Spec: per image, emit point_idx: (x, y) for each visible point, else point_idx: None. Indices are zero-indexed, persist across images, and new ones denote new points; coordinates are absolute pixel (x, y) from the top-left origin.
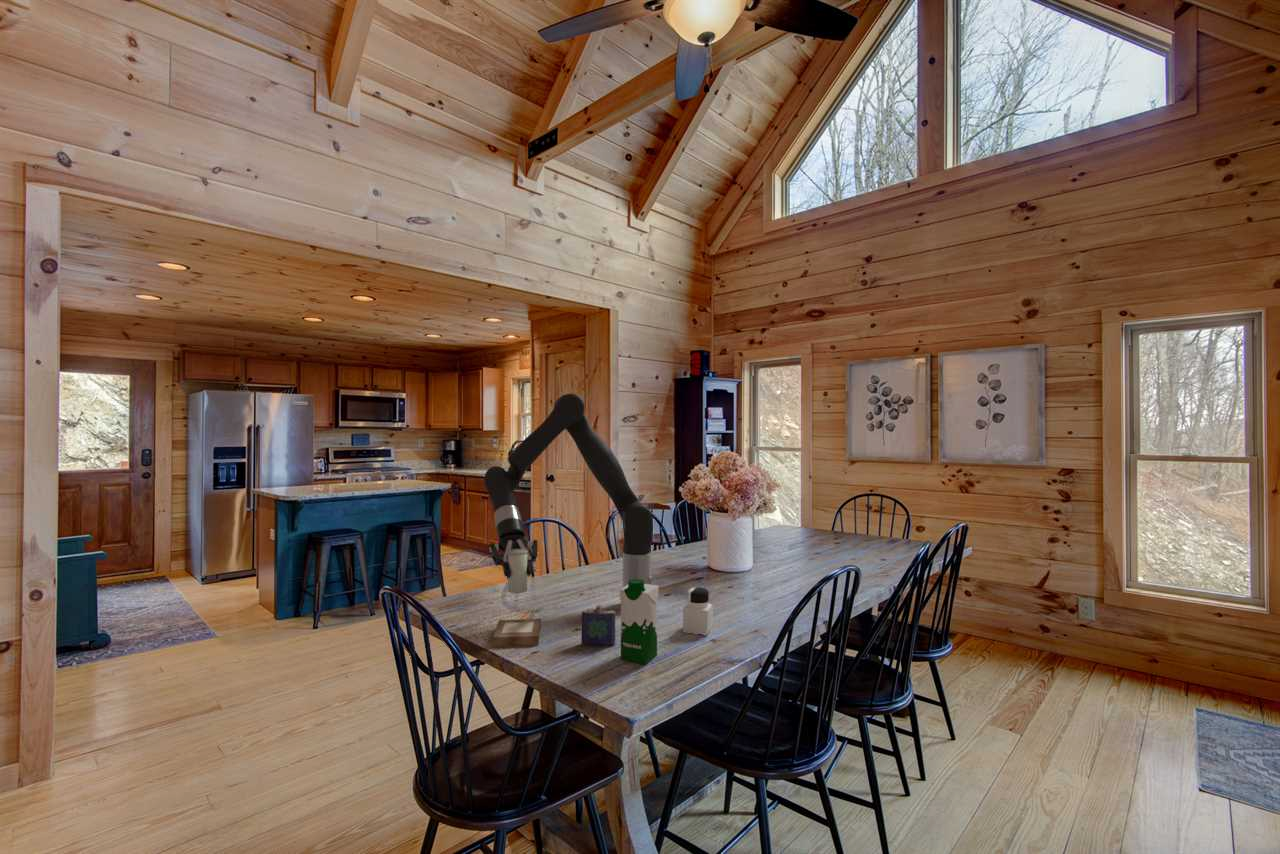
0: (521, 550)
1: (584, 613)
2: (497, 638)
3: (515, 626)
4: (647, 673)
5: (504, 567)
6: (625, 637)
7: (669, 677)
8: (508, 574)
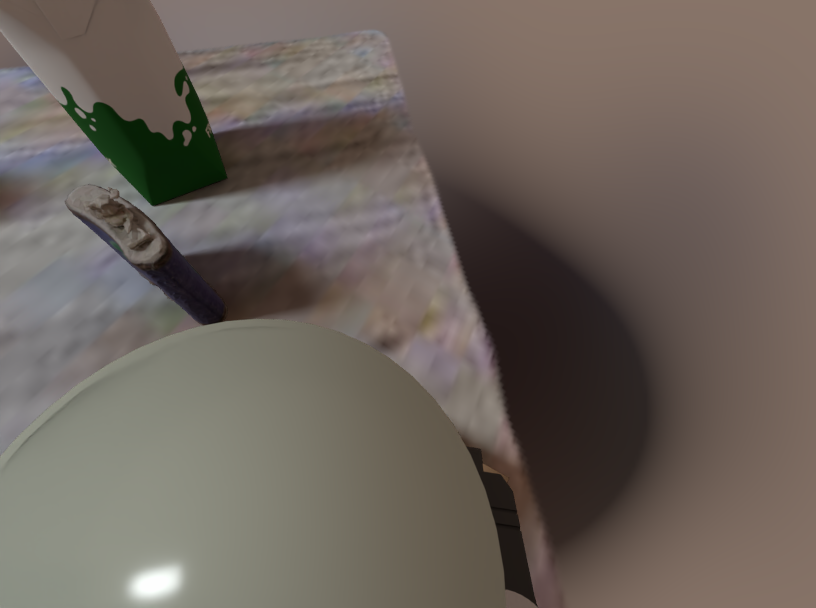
0: (107, 561)
1: (169, 242)
2: (488, 468)
3: None
4: (237, 109)
5: (518, 545)
6: (201, 107)
7: (219, 81)
8: (475, 450)
